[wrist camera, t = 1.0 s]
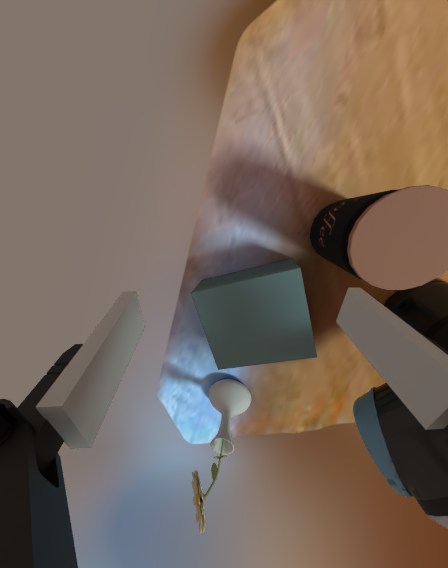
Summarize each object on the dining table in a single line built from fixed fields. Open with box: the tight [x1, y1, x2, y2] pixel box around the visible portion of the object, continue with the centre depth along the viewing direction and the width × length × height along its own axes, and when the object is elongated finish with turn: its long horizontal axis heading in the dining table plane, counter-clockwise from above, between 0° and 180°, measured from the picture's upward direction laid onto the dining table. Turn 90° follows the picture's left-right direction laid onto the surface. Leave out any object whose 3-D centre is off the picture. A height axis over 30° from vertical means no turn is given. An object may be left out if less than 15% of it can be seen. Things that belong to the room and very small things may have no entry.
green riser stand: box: [191, 258, 317, 370], centre depth 41 cm, size 20×18×8 cm
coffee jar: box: [310, 185, 448, 290], centre depth 28 cm, size 11×11×18 cm
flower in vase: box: [192, 379, 251, 534], centre depth 42 cm, size 13×11×25 cm
